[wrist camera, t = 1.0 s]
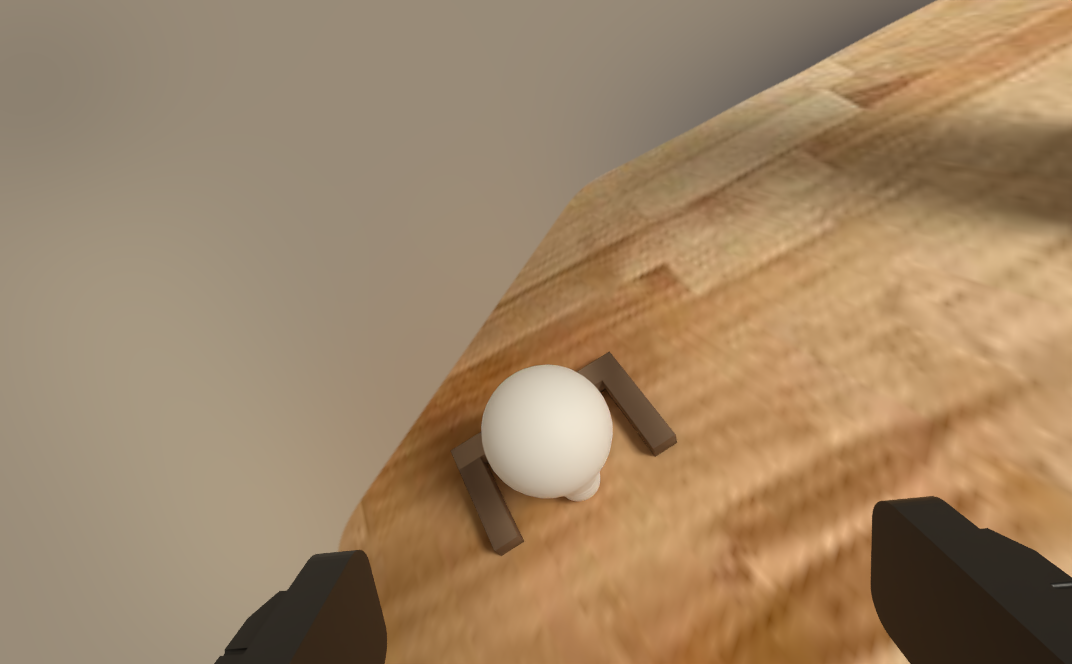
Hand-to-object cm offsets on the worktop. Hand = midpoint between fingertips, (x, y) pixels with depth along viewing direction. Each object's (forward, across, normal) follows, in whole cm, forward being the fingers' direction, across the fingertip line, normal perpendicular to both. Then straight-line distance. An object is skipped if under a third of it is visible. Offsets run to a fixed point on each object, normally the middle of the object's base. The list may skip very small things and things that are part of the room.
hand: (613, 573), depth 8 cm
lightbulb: (+20, +1, +11) cm, 23 cm away
